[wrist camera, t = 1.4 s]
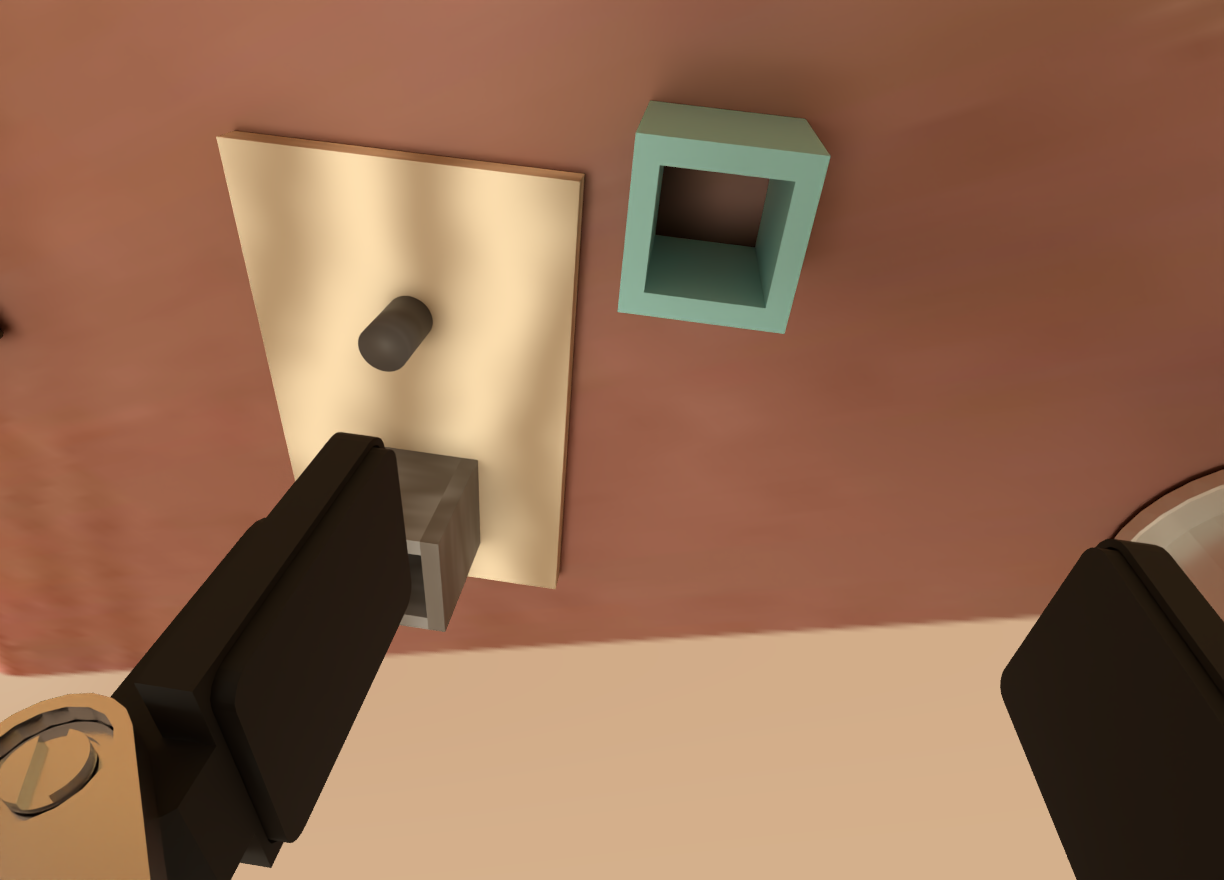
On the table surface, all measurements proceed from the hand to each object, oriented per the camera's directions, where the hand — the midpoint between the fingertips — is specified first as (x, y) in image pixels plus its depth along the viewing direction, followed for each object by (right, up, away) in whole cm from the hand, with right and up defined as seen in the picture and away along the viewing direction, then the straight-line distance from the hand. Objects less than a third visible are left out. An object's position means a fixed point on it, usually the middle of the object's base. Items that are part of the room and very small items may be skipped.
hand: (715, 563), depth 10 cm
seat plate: (-10, +4, +23) cm, 26 cm away
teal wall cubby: (+2, +11, +16) cm, 20 cm away
